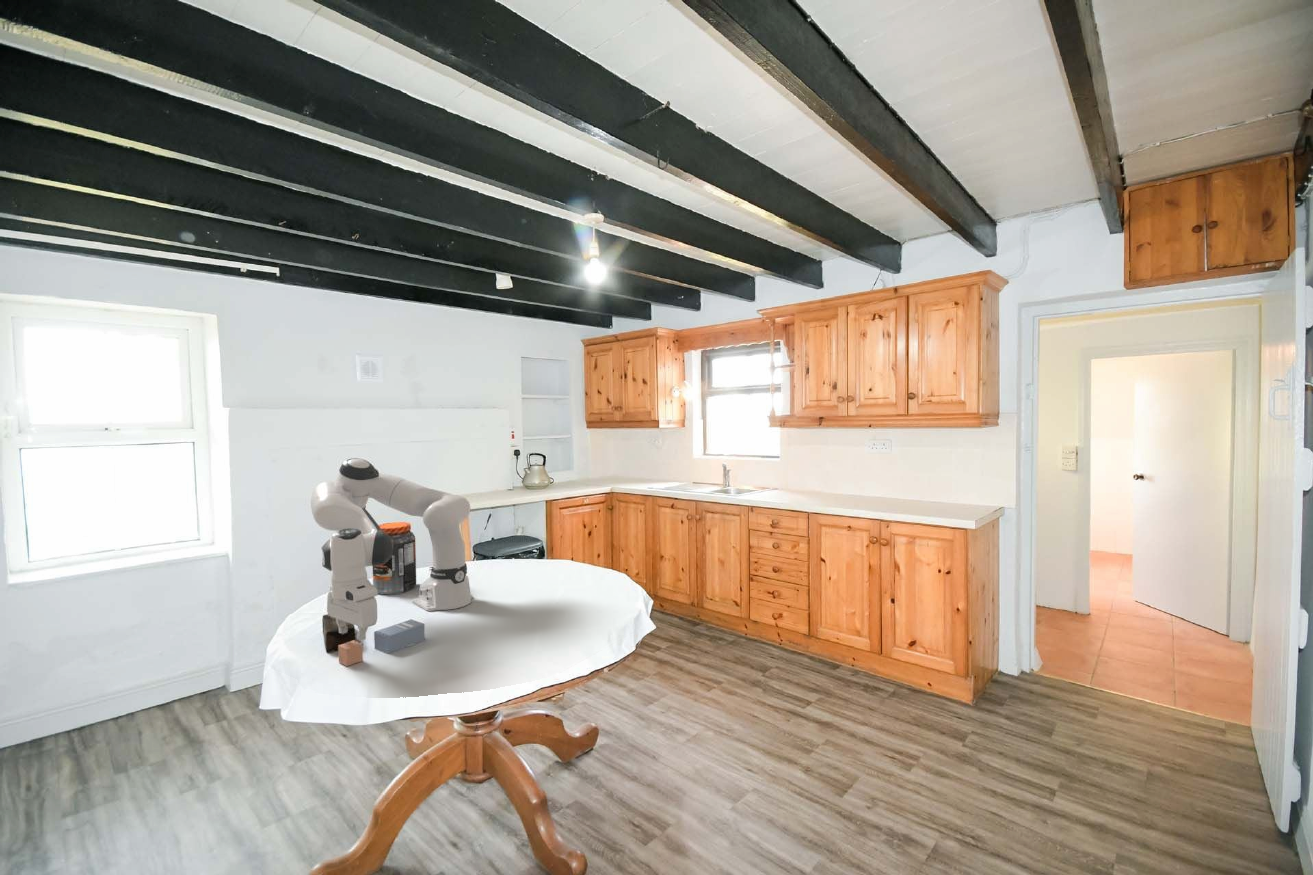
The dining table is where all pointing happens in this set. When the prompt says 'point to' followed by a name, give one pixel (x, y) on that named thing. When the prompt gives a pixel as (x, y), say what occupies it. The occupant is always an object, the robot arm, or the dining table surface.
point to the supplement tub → (397, 561)
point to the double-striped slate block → (399, 636)
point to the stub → (350, 652)
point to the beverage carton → (335, 633)
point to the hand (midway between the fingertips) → (352, 636)
